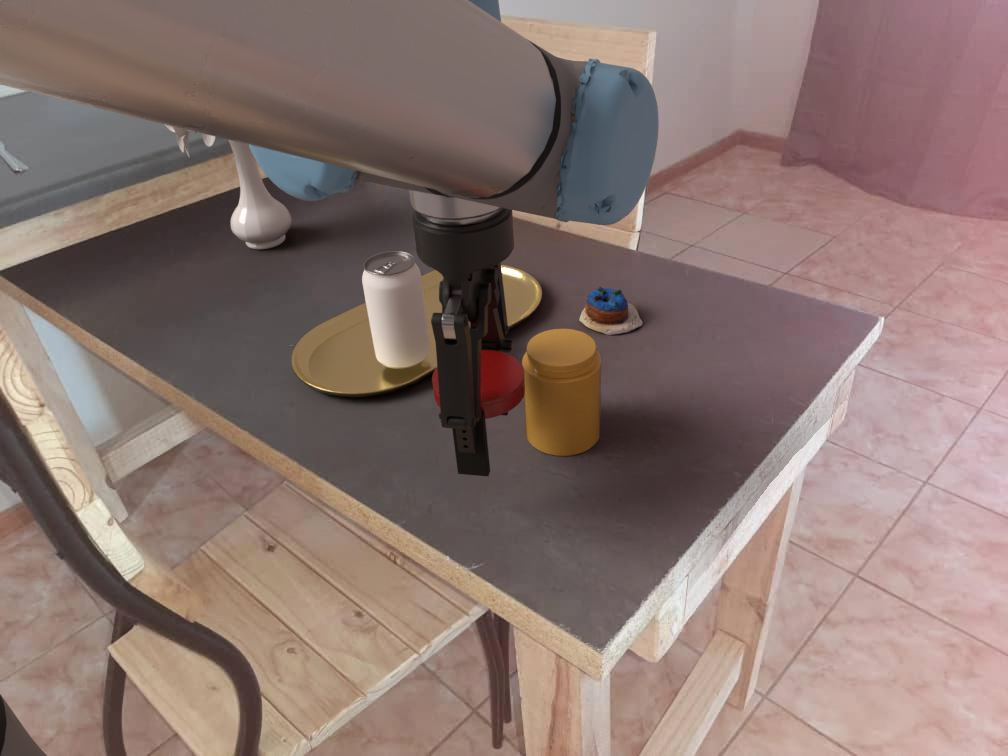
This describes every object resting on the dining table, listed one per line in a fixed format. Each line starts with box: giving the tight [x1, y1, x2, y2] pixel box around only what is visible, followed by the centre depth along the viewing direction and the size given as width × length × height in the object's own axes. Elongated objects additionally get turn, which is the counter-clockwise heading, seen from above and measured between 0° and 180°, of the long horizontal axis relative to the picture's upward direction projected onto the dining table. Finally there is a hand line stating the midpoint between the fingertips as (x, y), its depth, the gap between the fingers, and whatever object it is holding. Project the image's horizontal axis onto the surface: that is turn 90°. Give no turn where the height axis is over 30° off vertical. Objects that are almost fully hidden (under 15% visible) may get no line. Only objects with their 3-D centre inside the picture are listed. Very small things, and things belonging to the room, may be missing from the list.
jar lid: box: [431, 350, 525, 420], centre depth 67 cm, size 8×8×2 cm
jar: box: [521, 328, 602, 457], centre depth 77 cm, size 8×8×10 cm
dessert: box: [579, 286, 643, 336], centre depth 97 cm, size 8×7×6 cm
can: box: [361, 250, 431, 369], centre depth 87 cm, size 6×6×12 cm
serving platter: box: [291, 264, 543, 398], centre depth 98 cm, size 19×35×2 cm, turn 135°
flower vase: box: [163, 124, 293, 251], centre depth 116 cm, size 13×18×25 cm
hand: (484, 440), depth 71 cm, fingers closed on jar lid, 8 cm apart
